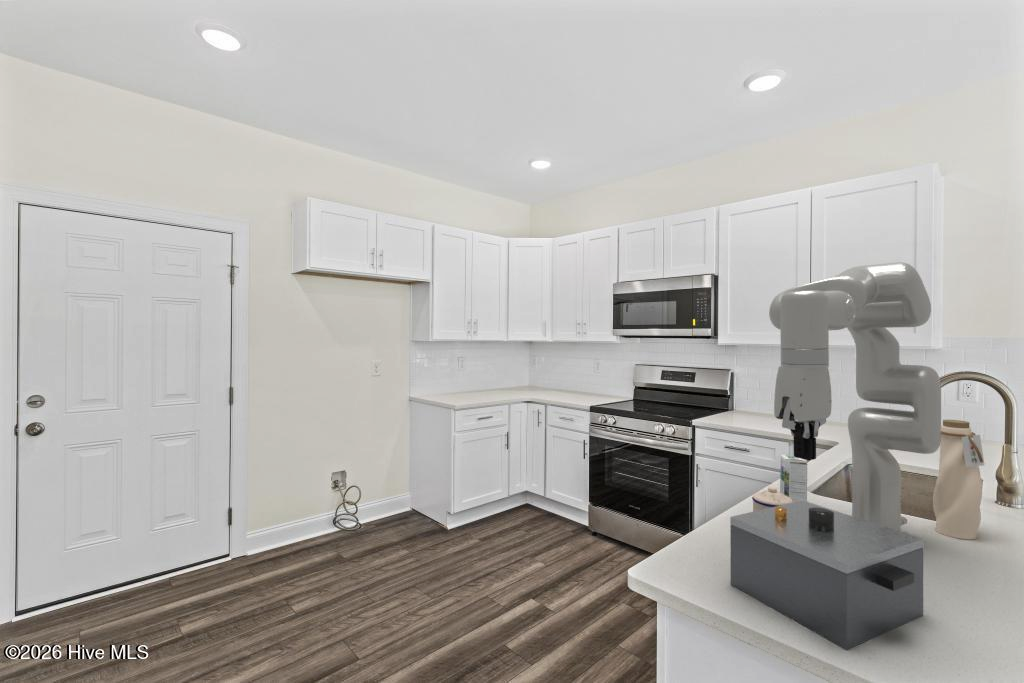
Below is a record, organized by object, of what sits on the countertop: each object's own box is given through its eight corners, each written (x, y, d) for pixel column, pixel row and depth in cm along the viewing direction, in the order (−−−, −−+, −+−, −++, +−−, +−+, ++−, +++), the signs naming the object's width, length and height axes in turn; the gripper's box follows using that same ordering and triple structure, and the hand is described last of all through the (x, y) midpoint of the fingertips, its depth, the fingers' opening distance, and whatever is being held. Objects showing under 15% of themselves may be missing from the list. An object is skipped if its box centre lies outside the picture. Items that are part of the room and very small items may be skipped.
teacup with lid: (779, 545, 113) (779, 496, 113) (744, 531, 121) (744, 485, 121) (808, 534, 119) (808, 487, 119) (772, 522, 127) (772, 478, 127)
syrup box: (779, 502, 142) (779, 454, 141) (801, 504, 140) (801, 455, 140) (784, 509, 136) (784, 458, 136) (808, 511, 134) (808, 460, 134)
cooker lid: (802, 507, 104) (802, 486, 104) (923, 547, 84) (923, 522, 84) (730, 524, 95) (730, 501, 95) (846, 573, 75) (846, 545, 75)
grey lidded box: (792, 557, 107) (792, 504, 107) (939, 622, 82) (940, 553, 82) (720, 579, 98) (720, 520, 97) (863, 659, 73) (863, 581, 73)
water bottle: (997, 540, 115) (997, 424, 115) (971, 545, 112) (972, 426, 112) (947, 524, 125) (948, 417, 125) (923, 528, 122) (923, 419, 122)
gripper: (810, 356, 94) (810, 448, 94) (757, 359, 88) (758, 458, 88) (850, 357, 87) (851, 457, 88) (796, 361, 81) (797, 469, 81)
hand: (804, 457), depth 88 cm, fingers closed
